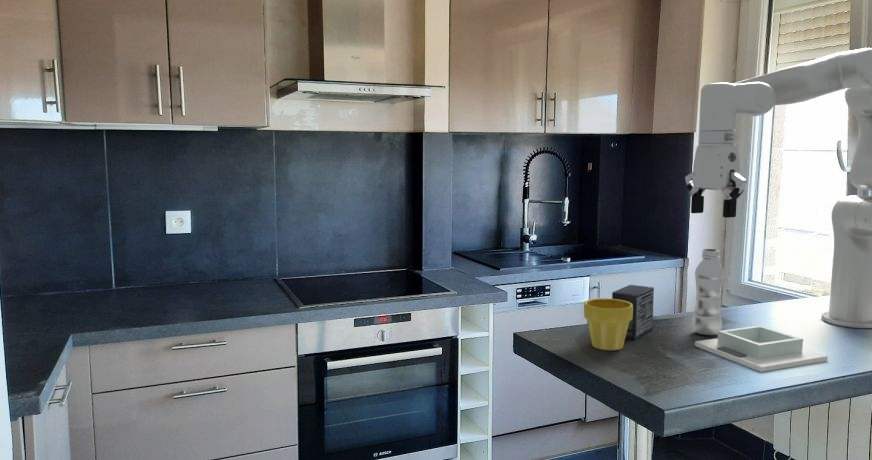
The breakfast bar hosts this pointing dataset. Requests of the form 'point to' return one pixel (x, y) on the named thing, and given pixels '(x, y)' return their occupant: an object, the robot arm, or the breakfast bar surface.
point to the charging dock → (761, 348)
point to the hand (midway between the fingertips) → (712, 215)
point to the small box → (638, 308)
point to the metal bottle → (708, 294)
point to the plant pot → (608, 322)
